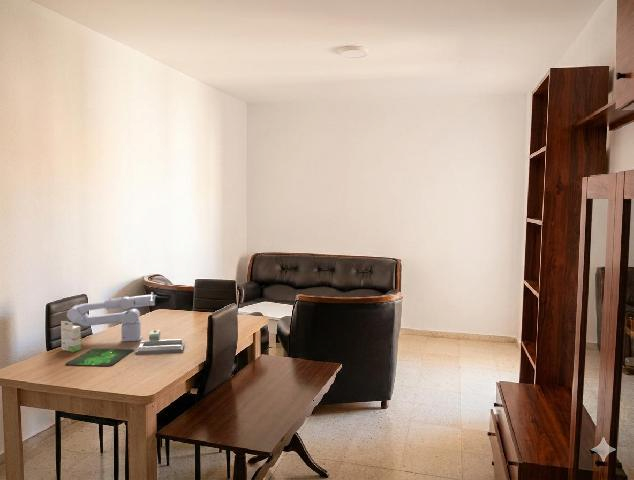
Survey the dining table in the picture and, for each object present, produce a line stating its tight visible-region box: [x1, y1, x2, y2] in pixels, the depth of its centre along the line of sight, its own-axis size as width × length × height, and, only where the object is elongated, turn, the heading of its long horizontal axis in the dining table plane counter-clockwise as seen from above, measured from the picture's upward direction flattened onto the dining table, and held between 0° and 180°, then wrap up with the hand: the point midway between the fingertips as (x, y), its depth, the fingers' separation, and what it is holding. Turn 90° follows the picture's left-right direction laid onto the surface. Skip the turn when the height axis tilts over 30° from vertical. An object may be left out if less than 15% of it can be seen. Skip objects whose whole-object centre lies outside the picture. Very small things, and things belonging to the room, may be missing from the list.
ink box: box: [60, 320, 82, 353], centre depth 254 cm, size 9×5×15 cm, turn 65°
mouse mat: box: [65, 348, 135, 367], centre depth 243 cm, size 27×22×1 cm
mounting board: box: [135, 342, 185, 355], centre depth 256 cm, size 22×13×1 cm, turn 101°
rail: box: [137, 338, 183, 351], centre depth 256 cm, size 20×12×2 cm, turn 101°
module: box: [148, 328, 161, 341], centre depth 267 cm, size 5×8×7 cm, turn 11°
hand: (170, 297), depth 276 cm, fingers open, 7 cm apart
